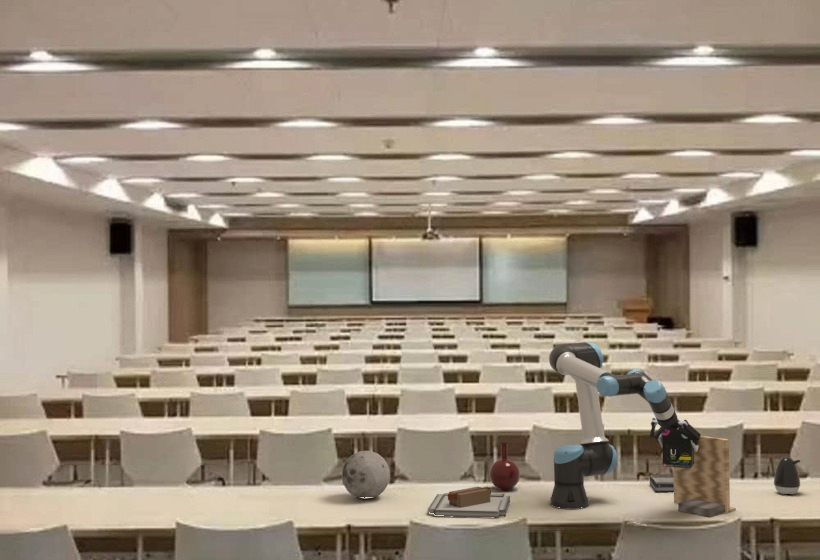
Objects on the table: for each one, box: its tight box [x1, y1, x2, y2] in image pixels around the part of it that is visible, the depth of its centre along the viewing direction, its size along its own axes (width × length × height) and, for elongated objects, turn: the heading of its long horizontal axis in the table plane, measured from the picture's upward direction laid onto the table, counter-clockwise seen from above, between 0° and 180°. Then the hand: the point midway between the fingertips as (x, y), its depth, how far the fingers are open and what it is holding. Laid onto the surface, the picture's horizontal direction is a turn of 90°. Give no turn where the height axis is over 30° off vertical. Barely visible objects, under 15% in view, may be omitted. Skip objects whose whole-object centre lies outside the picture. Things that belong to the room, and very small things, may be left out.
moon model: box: [341, 450, 391, 498], centre depth 421 cm, size 20×20×20 cm
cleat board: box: [672, 435, 737, 518], centre depth 392 cm, size 24×16×28 cm, turn 40°
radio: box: [649, 474, 674, 494], centre depth 430 cm, size 24×5×20 cm
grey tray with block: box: [427, 486, 511, 519], centre depth 400 cm, size 30×30×8 cm
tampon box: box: [661, 427, 694, 468], centre depth 389 cm, size 11×9×15 cm
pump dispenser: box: [773, 456, 801, 495], centre depth 415 cm, size 10×10×15 cm
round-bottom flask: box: [489, 442, 521, 491], centre depth 433 cm, size 13×13×20 cm
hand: (680, 447), depth 390 cm, fingers closed on tampon box, 12 cm apart
